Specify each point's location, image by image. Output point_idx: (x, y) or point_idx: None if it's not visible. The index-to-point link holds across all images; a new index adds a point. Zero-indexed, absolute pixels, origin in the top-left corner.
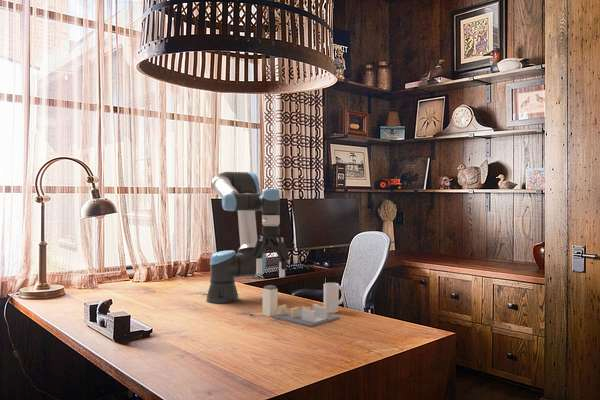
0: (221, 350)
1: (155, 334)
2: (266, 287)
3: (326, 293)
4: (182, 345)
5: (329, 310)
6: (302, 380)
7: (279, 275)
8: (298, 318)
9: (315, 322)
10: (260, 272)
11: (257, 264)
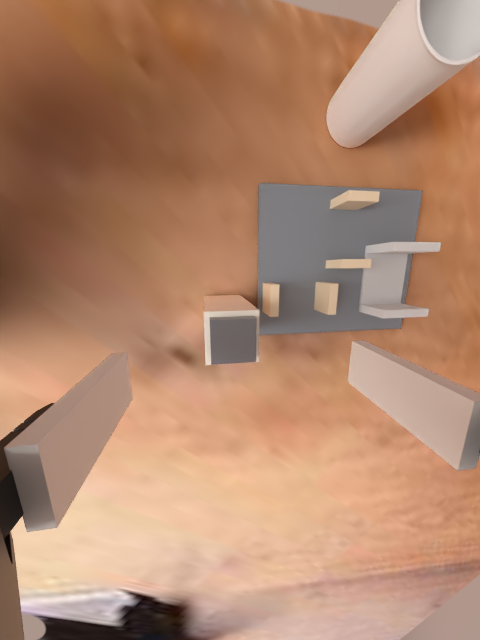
0: (347, 544)
1: (175, 596)
2: (229, 362)
3: (407, 100)
4: (275, 580)
5: (364, 141)
6: None
7: (359, 388)
8: (338, 302)
9: (399, 302)
10: (125, 373)
11: (95, 458)
